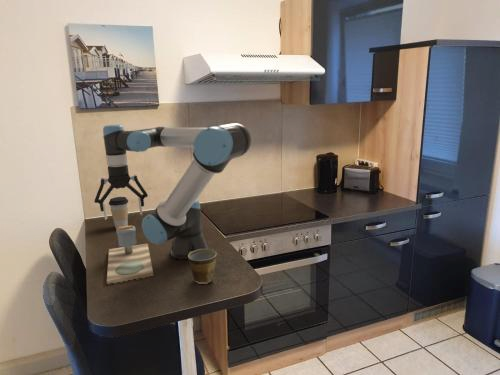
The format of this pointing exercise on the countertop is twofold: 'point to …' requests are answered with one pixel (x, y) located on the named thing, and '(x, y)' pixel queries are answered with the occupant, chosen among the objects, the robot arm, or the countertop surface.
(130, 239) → the cap
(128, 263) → the bayonet board
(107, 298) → the countertop surface
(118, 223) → the coffee cup
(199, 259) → the ceramic cup
